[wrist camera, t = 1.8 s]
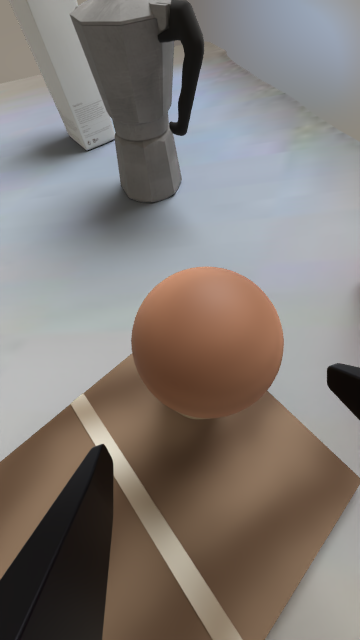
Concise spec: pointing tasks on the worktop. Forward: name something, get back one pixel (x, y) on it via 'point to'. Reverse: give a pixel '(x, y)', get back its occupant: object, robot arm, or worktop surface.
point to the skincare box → (65, 68)
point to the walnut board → (186, 507)
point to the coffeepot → (142, 83)
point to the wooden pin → (207, 342)
